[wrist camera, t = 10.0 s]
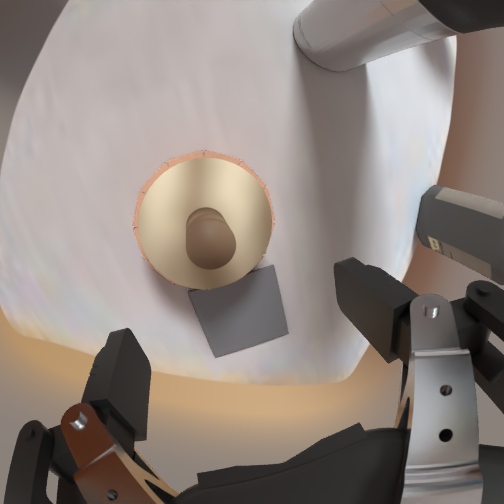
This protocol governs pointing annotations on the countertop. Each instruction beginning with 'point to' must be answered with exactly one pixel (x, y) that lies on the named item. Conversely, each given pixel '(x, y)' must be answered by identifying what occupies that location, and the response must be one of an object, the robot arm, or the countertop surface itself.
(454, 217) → the liquor
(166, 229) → the lid
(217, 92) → the countertop surface
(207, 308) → the mat
